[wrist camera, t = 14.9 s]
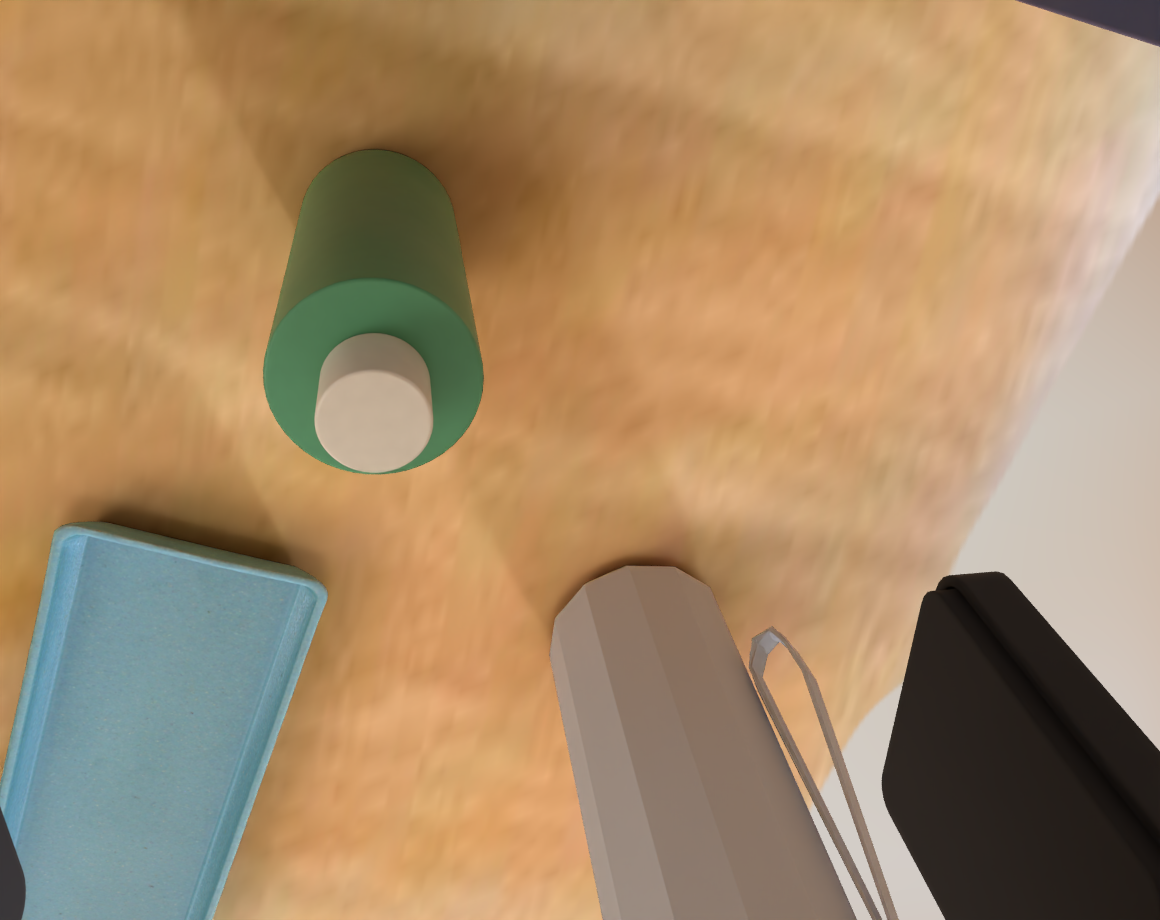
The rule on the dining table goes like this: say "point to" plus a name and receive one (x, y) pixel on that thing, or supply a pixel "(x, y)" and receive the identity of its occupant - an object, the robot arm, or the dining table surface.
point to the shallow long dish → (148, 720)
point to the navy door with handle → (1111, 15)
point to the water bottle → (692, 762)
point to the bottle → (374, 320)
